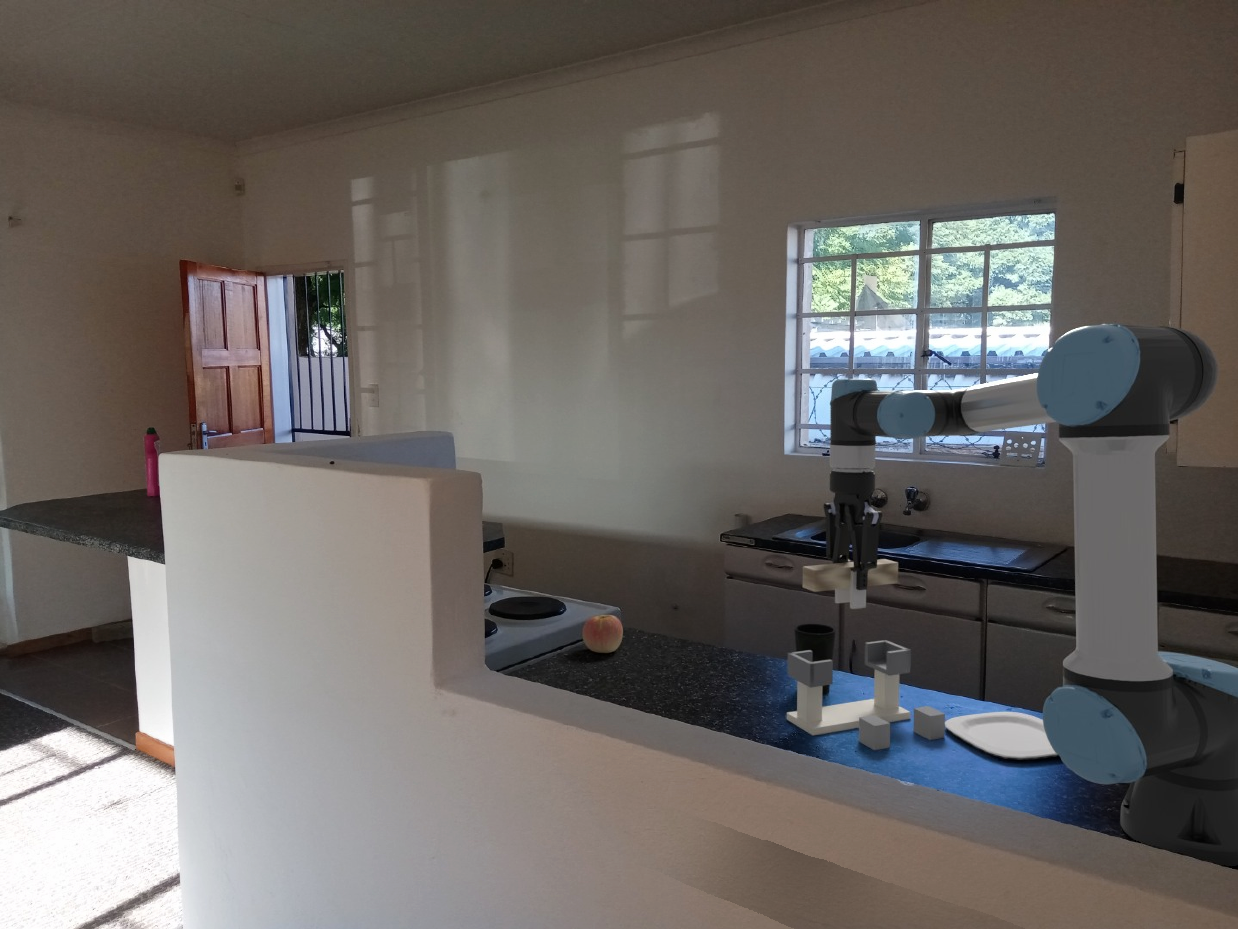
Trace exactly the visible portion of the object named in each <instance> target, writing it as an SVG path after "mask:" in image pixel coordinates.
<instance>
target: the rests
mask: <svg viewBox="0 0 1238 929" xmlns="http://www.w3.org/2000/svg"><path fill="white" fill-rule="evenodd" d="M945 721H946V713H944V712H942V711H939V710H938V709H936V708H934V707H931V706H929V705H925V706H921V707H920V706H919V707H914V708H913V731H912V732H914V733H916V734H918V735H919V736H921V737H923V738H926V739H927V740H929V741H933V740H937V739H942V738H945V731H946V727H945ZM858 742H860V743H861V744H863V745H864V746H866V747H868V748H870V749H871V750H873V751H878V750H884V749H890V748H891V747H890V744H891V722H887V721H885V720H883V719H881V718H879V717H877V716H875V715H871V716H865V717H859V728H858Z"/></svg>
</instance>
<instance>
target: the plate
mask: <svg viewBox="0 0 1238 929" xmlns="http://www.w3.org/2000/svg"><path fill="white" fill-rule="evenodd" d="M945 730H947V731H948V732H950V733H951V734H952V735H953V736H955V737H957V738H959V739H960V740H962V741H963V742H965V743H967V744H968V745H970V746H972V747H974V748H976V749H977V750H979V751H981V752H984V753H986V754H988V755H989V756H990V755H991V756H993V757H997V758H1001V759H1004V760H1005V759H1007V760H1017V761H1023V760H1024V761H1026V760H1039V759H1047V758H1053V757H1060V756H1059V755H1058V754H1057V753H1055V751H1054V750H1053V748H1052V746H1051V745H1050V743H1049V741H1048V738H1047V736H1046V733H1045V729H1044V725H1043V718H1039V717H1037V716H1034V715H1030V714H1027V713H1024V712H1023V713H1022V712H1017V711H1016V712H1014V711H994V712H993V711H992V712H984V713H983V712H982V713H975V714H974V713H973V714H968V715H961V716H955V717H952V718H949V719H947V720H945Z"/></svg>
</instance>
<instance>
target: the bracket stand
mask: <svg viewBox="0 0 1238 929" xmlns="http://www.w3.org/2000/svg"><path fill="white" fill-rule="evenodd" d="M911 653H912V650H911V649H910V648H907V647H905V646H902V645H899V644H896V643H894V642H892V641H889V640H886V639H885V640H884V639H883V640H876V641H870V642H869V641H867V642H864V665H865V666H867V667H869V668H870V669H874V684H873V686H874V688H873V689H874V690H873V696H874V697H873V698H870V699H863V700H857V701H851V702H844V703H838V704H833V705H826V706H825V705H824V706H823V695H822V686H824V685H830V686H832V685H833V679H834V678H833V677H834V676H833V675H834V673H833V671H834V669H833V668H834V661H833V660H823V661H816V662H812V651H811V650H807V651H799V652H796V651H793V652H787V677H789V678H792V679H793V680H795V681H797V682H796V683H797V687H796V688H797V690H796V691H797V693H796V697H797V699H796V700H797V701H796V710H795V711H788V712H786V720H787V721H789V722H790V723H792V724H794V726H797V727H798V728H799V729H801V730H804V731H805V732H807V734H810V735H811V736H817V735H824V734H830V733H835V732H840V731H841V732H842V731H847V730H848V731H849V730H853V729H859V717H865V716H871V715H875V716H877V717H879V718H881V719H883V720H885V721H887V722H889V723H892V722H899V721H904V720H905V721H906V720H911V716H912V714H911V711H909V710H907V709H906V708H903V707H902V706H900V675H902V674H910V673H911V668H912V667H911V664H912V659H911V656H912V654H911Z"/></svg>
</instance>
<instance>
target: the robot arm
mask: <svg viewBox="0 0 1238 929" xmlns="http://www.w3.org/2000/svg"><path fill="white" fill-rule="evenodd" d="M1218 378H1219V365H1218V361H1217V357H1216V355H1215V353H1214V351H1213V350H1212V348H1211V347H1210V346H1209V345H1208V343H1207V342H1206V341H1205V340H1204V339H1202V338H1201V337H1200V336H1198V335H1197V334H1195V333H1193V332H1192V331H1188V330H1186V329H1184V328H1180V327H1174V326H1150V325H1135V324H1132V325H1131V324H1121V323H1109V324H1106V323H1102V324H1095V325H1085V326H1079V327H1077V328H1075V329H1071V330H1069V331H1067V332H1066V333H1065V334H1063V335H1062V336H1060V337H1058V339H1057V340H1055V342H1054V344H1052V347H1051V348H1049V349H1048V350H1047V351H1046V353H1045V354H1044V356H1043V358H1042V359H1041V362H1040V365H1039V368H1038V371H1037V373H1033V374H1032V373H1031V374H1027V375H1026V374H1025V375H1023V376H1022V375H1021V376H1017V377H1012V378H1006V379H1001V380H997V381H992V382H987V383H982V384H977V385H971V386H968V387H967V386H966V387H962V388H958V389H957V388H956V389H948V390H947V389H943V390H940V389H939V390H932V389H931V390H930V389H929V390H925V389H924V390H922V389H921V390H913V389H912V390H911V389H896V390H878V384H877V381H876V380H875V379H874V378H840V379H835V380H833V382H832V384H831V395H830V402H829V406H830V412H829V413H830V426H829V427H830V433H829V434H830V438H829V439H830V444H829V467H830V468H832V469H833V470H830V472H829V491H830V492H831V493H833V494H834V497H833V501H832V502H827V503H826V502H825V503H824V504H823V510H824V515H825V547H826V548H825V549H826V550H825V552H826V553H825V554H826V556H825V557H826V559H828V560H831V561H832V564H836V563H847V562H853V563H854V568H850V569H851V578H850V588H846V589H836V590H834V603H835V604H844V603H849V609H852V610H857V609H863V608H864V609H866V608H867V589H868V586H867V583H868V570H870V569H874V568H876V567H877V560H878V556H879V555H878V553H879V538H880V525H881V522H882V518H883V512H882V511H880V510H874V509H873V507H872V502H871V498H870V497H871V494H873V493H874V492H875V491H876V473H875V471H874V470H872V469H874V468H875V467H876V444H877V437H882V438H889V439H891V438H892V439H895V440H901V441H902V440H912V439H913V440H914V439H919V438H924V437H925V438H927V437H949V436H953V437H954V436H955V437H956V436H959V437H970V436H971V437H972V436H974V435H981V434H984V433H985V432H991V431H999V430H1006V429H1013V428H1021V427H1028V426H1036V425H1043V424H1052V423H1058V441H1059V442H1061V444H1062V445H1063V446H1064V447H1066V448H1067V449H1068V450H1069V451H1070V452H1071V455H1072V465H1073V466H1072V468H1073V474H1072V476H1073V518H1074V519H1073V521H1074V524H1073V525H1074V528H1073V529H1074V532H1073V533H1074V535H1073V536H1074V576H1075V577H1074V582H1075V584H1074V587H1075V588H1074V590H1075V632H1076V633H1075V638H1076V641H1075V642H1076V647H1075V650H1073V652H1071V653H1069V655H1067V656H1066V657H1065V658H1064V659H1063V660H1062V686H1058V687H1056V688H1055V689H1054V690H1053V691H1052V692H1051V693H1050V695H1049V696H1048V697H1046V699H1045V701H1044V704H1043V708H1042V720H1043V725H1044V729H1045V733H1046V736H1047V738H1048V741H1049V743H1050V745H1051V746H1052V748H1053V750H1054V751H1055V753H1057V754H1058V755H1059V756H1058V757H1060V759H1061V761H1062V763H1063V764H1064V765H1065V766H1066V767H1067V768H1068V769H1069V770H1070V771H1072V772H1073V773H1074V774H1076V775H1077V776H1079V777H1081V778H1083V779H1084V780H1086V781H1088V782H1091V783H1095V784H1099V785H1114V784H1121V783H1122V784H1123V783H1124V784H1125V783H1126V784H1129V783H1130V784H1129V787H1128V789H1127V791H1126V793H1125V796H1124V799H1123V800H1122V803H1121V806H1120V818H1119V819H1120V821H1119V824H1120V826H1121V828H1122V830H1123V831H1124V832H1125V833H1126V835H1128V836H1129V837H1130V838H1131V839H1133V840H1134V841H1135V840H1136V842H1137V841H1139V842H1141V843H1145V844H1147V845H1151V846H1156V847H1160V848H1164V849H1167V850H1170V851H1172V852H1180V853H1183V854H1186V855H1189V856H1192V857H1195V858H1197V859H1203V860H1208V861H1210V862H1214V863H1217V864H1220V865H1226V866H1225V867H1235V866H1236V867H1238V866H1237V865H1238V667H1236V666H1232V665H1230V664H1227V663H1225V662H1220V661H1217V660H1214V659H1210V658H1204V657H1202V656H1201V657H1200V656H1196V655H1195V656H1194V655H1190V654H1185V653H1177V652H1170V651H1158V650H1159V648H1158V646H1159V645H1158V642H1159V641H1158V638H1159V637H1158V635H1159V634H1158V632H1159V631H1158V580H1157V577H1158V575H1157V572H1158V571H1157V569H1158V568H1157V567H1158V566H1157V517H1156V516H1157V509H1156V503H1157V502H1156V456H1155V455H1156V452H1157V451H1158V449H1159V448H1160V447H1161V446H1162V445H1163V444H1165V443H1166V441H1167V440H1169V439H1170V428H1171V427H1170V421H1175V420H1179V419H1182V418H1184V417H1187V416H1190V415H1192V414H1193V413H1194V412H1196V411H1198V410H1200V409H1201V408H1202V407H1203V406H1204V404H1206V403H1207V402H1208V401H1209V399H1210V398H1211V397H1212V395H1213V393H1214V392H1215V389H1216V387H1217V383H1218ZM850 548H851V550H852V558H853V559H852V560H853V561H851V559H849V555H850ZM1139 842H1138V843H1139Z"/></svg>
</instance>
